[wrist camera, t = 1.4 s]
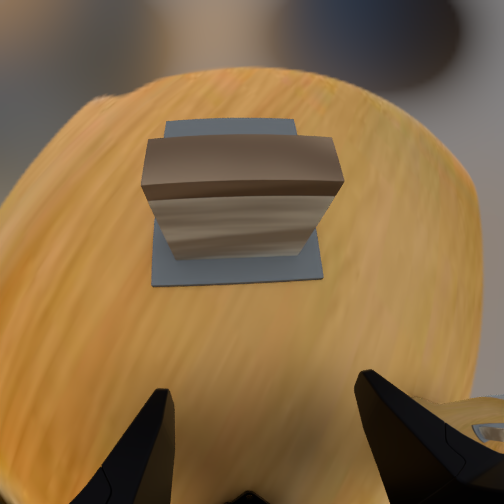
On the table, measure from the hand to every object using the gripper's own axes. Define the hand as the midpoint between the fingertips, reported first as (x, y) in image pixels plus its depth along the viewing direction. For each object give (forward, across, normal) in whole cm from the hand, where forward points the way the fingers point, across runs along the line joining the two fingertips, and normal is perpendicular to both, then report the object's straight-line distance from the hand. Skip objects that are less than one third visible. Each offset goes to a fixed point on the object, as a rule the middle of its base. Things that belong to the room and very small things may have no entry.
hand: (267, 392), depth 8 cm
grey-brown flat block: (+17, 0, +2) cm, 17 cm away
